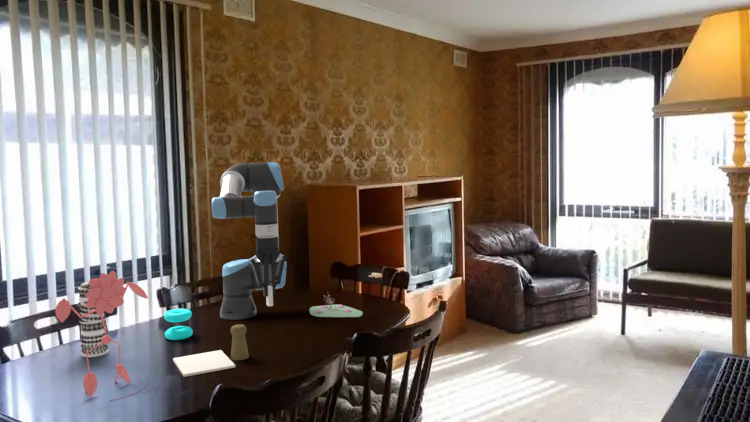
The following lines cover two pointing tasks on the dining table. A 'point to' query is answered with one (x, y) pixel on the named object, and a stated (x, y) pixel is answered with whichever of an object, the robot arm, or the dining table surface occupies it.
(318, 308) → the plant
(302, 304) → the dining table surface
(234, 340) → the cork
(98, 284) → the figurine
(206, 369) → the felt mat
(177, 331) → the donuts
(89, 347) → the decorative candle
